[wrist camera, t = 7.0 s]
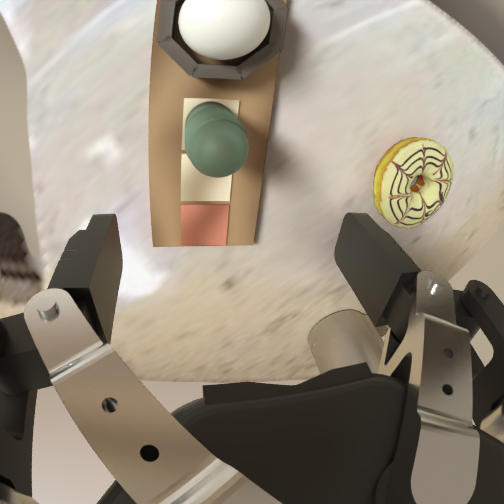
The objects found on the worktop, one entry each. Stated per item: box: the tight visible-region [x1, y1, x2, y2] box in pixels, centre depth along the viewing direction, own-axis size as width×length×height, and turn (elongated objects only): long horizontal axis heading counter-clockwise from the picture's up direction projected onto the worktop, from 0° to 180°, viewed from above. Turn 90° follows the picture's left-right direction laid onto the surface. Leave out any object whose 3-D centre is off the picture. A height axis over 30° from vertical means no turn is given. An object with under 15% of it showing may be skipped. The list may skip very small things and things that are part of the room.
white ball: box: [178, 0, 270, 60], centre depth 16 cm, size 6×6×6 cm
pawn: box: [185, 101, 249, 178], centre depth 20 cm, size 4×4×9 cm
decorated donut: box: [374, 137, 454, 229], centre depth 30 cm, size 10×11×4 cm
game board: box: [149, 0, 288, 247], centre depth 23 cm, size 10×25×4 cm, turn 173°
